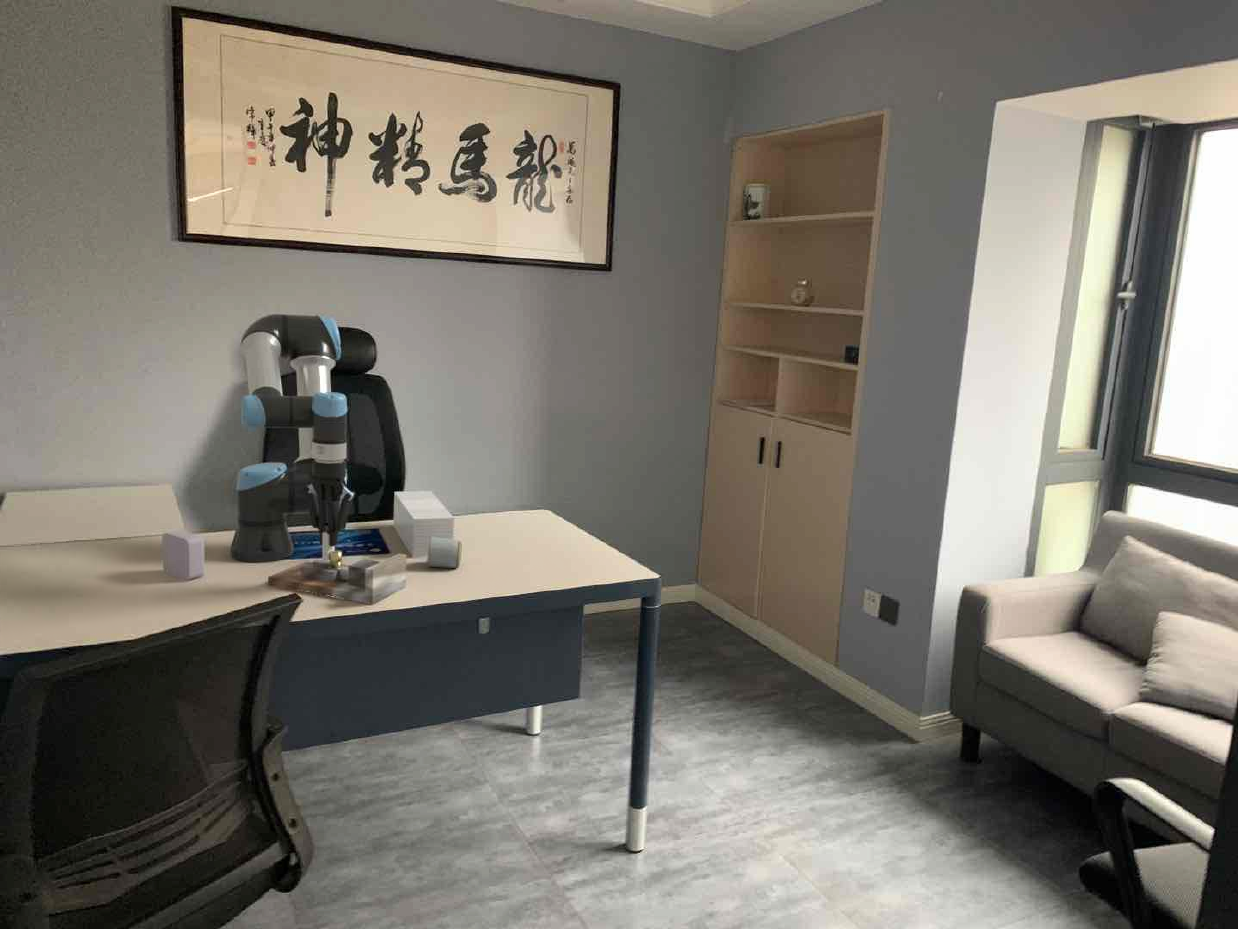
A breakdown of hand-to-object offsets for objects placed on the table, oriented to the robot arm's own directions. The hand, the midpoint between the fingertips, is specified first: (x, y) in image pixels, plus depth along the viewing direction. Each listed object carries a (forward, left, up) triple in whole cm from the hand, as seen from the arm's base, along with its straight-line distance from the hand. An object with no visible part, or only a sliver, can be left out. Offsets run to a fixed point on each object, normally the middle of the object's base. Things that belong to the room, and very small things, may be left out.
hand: (328, 558), depth 215 cm
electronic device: (-32, -10, -7) cm, 35 cm away
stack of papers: (0, +44, -7) cm, 45 cm away
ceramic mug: (+16, +27, -7) cm, 32 cm away
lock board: (+3, 0, -6) cm, 7 cm away
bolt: (+7, 0, -4) cm, 8 cm away
